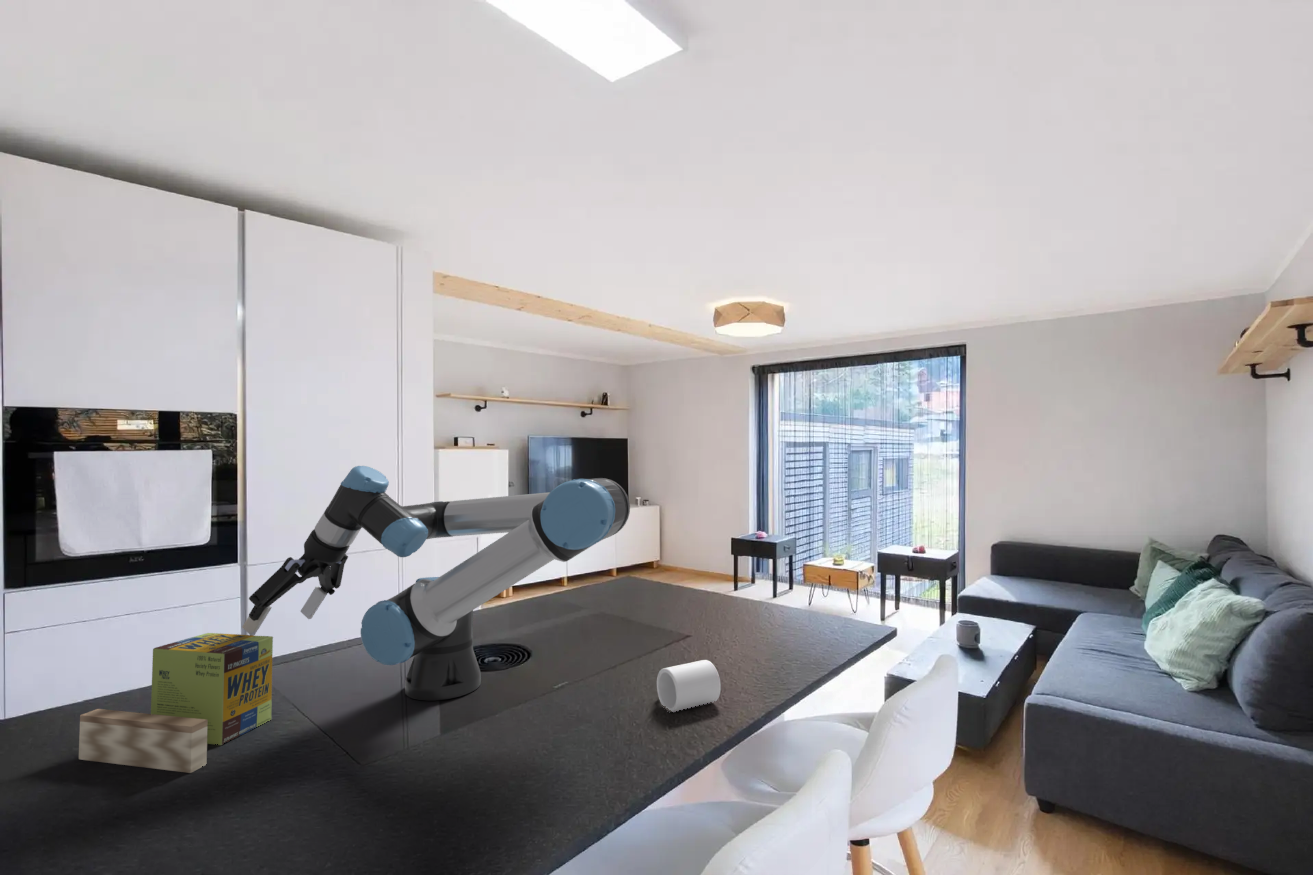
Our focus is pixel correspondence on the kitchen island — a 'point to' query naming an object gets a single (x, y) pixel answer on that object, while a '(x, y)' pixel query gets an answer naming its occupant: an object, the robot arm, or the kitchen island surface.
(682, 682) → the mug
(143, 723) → the rail
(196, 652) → the protein box
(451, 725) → the kitchen island surface
